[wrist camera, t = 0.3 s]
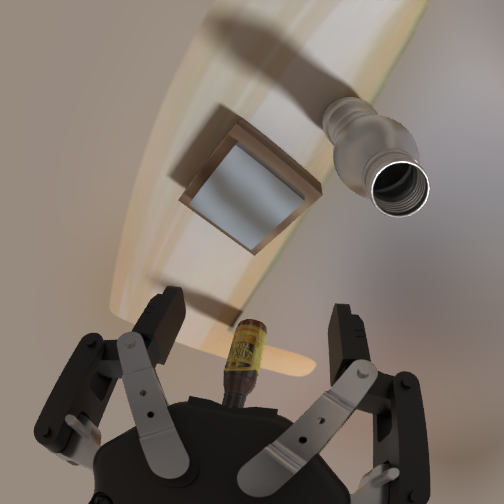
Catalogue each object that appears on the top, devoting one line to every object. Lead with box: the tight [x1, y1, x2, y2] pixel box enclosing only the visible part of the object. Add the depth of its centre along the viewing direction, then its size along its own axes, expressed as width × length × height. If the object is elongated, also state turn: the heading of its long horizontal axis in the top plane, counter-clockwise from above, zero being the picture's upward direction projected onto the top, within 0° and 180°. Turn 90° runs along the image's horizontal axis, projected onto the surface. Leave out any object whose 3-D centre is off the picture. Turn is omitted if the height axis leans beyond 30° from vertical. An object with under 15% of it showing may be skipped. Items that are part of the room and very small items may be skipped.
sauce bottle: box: [222, 319, 267, 409], centre depth 48 cm, size 6×6×20 cm
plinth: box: [179, 118, 322, 256], centre depth 34 cm, size 13×13×5 cm
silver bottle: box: [322, 97, 430, 218], centre depth 21 cm, size 6×7×20 cm
